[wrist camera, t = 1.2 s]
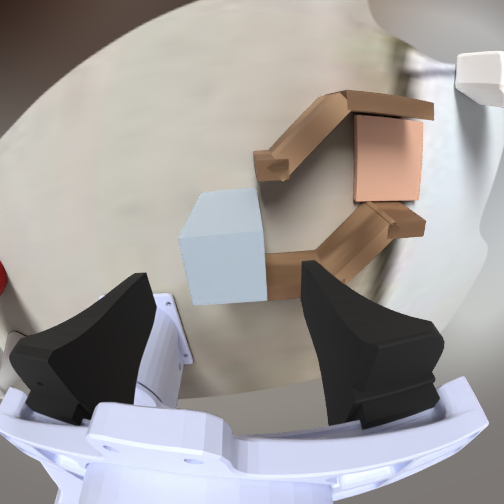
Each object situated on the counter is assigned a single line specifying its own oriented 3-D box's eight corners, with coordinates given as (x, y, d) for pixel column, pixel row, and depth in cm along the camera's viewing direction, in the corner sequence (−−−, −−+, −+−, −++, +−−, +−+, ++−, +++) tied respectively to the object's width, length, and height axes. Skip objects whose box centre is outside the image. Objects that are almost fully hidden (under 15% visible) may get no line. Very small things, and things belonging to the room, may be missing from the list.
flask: (52, 366, 30) (27, 416, 22) (25, 361, 31) (2, 405, 22) (27, 330, 27) (-5, 381, 18) (3, 328, 27) (-27, 372, 18)
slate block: (259, 237, 22) (267, 300, 15) (208, 241, 22) (193, 305, 15) (256, 187, 20) (263, 230, 13) (201, 192, 20) (177, 238, 13)
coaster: (414, 198, 20) (418, 200, 20) (353, 199, 20) (356, 201, 20) (419, 121, 17) (423, 122, 17) (353, 114, 17) (357, 114, 17)
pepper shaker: (481, 71, 14) (554, 77, 5) (478, 106, 16) (554, 122, 7) (454, 52, 14) (532, 47, 5) (451, 88, 15) (534, 96, 7)
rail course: (389, 255, 23) (412, 283, 19) (261, 267, 23) (265, 300, 19) (399, 102, 16) (433, 102, 12) (248, 96, 17) (250, 89, 13)
